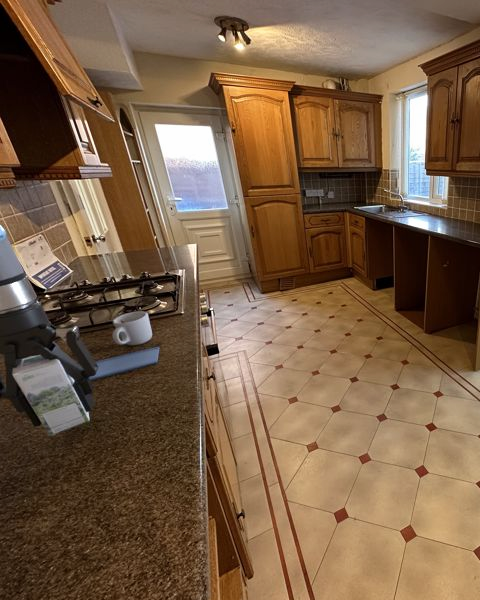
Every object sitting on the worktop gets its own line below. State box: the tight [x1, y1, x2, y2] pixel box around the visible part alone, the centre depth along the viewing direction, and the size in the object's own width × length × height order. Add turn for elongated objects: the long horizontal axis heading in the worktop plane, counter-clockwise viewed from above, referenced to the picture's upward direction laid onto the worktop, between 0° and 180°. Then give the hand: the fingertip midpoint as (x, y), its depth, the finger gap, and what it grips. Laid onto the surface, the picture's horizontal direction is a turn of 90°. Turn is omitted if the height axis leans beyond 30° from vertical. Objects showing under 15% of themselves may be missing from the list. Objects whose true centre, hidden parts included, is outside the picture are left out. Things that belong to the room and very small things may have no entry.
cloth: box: [89, 346, 160, 382], centre depth 84 cm, size 16×9×1 cm, turn 121°
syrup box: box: [12, 355, 90, 437], centre depth 60 cm, size 6×6×14 cm
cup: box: [112, 310, 153, 346], centre depth 92 cm, size 11×8×8 cm
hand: (65, 413), depth 62 cm, fingers closed on syrup box, 6 cm apart
